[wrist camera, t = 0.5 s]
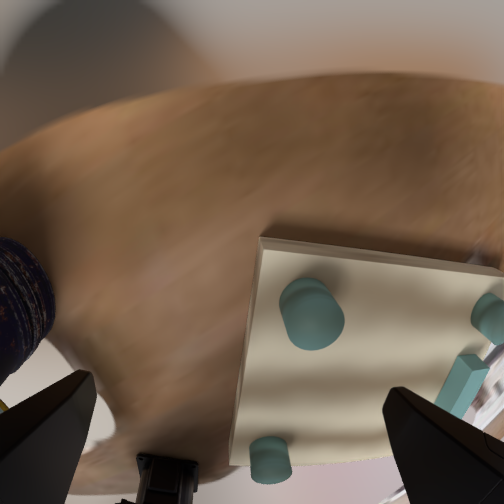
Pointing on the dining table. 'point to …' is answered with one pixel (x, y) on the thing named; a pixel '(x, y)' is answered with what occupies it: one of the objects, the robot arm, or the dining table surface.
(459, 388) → the teal rectangular bar
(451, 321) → the stool seat
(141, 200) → the dining table surface
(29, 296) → the storage jar
